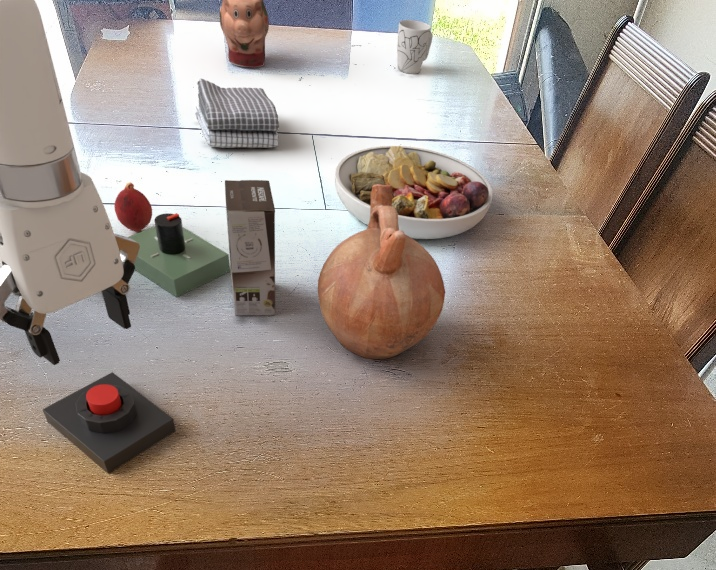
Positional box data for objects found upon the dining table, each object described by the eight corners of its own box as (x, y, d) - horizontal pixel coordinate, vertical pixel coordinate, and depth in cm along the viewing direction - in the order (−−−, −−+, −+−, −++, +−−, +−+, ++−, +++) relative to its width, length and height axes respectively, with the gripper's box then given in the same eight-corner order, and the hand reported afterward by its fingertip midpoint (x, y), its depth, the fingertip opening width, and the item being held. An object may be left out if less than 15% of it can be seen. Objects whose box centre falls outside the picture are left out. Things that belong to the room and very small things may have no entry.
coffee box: (276, 316, 92) (275, 211, 79) (234, 316, 91) (226, 210, 78) (272, 282, 98) (270, 178, 85) (231, 282, 96) (223, 177, 84)
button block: (47, 422, 74) (37, 398, 71) (116, 384, 80) (109, 360, 77) (108, 474, 71) (100, 450, 67) (176, 431, 76) (171, 407, 73)
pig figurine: (220, 46, 163) (216, -21, 152) (266, 48, 165) (264, -18, 154) (224, 73, 151) (219, 2, 140) (273, 75, 153) (272, 6, 142)
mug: (415, 61, 171) (422, 17, 163) (437, 71, 167) (445, 26, 160) (387, 67, 165) (392, 21, 158) (408, 77, 162) (415, 31, 154)
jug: (443, 376, 87) (478, 245, 71) (318, 374, 85) (326, 237, 69) (424, 302, 98) (451, 174, 83) (313, 297, 96) (319, 165, 80)
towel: (209, 153, 123) (205, 110, 117) (195, 116, 133) (191, 75, 127) (281, 151, 127) (281, 109, 121) (263, 115, 137) (262, 75, 131)
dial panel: (119, 259, 97) (114, 241, 95) (173, 236, 103) (170, 218, 100) (176, 297, 93) (173, 278, 90) (230, 271, 98) (228, 253, 96)
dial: (170, 257, 94) (166, 227, 90) (153, 247, 95) (148, 217, 91) (190, 248, 96) (186, 218, 92) (173, 238, 97) (169, 208, 93)
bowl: (308, 218, 111) (309, 173, 105) (366, 158, 129) (370, 117, 123) (462, 264, 107) (473, 221, 100) (500, 196, 124) (512, 155, 118)
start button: (83, 405, 72) (79, 394, 71) (109, 391, 74) (105, 379, 72) (102, 420, 71) (98, 409, 69) (127, 405, 73) (124, 394, 71)
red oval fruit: (143, 244, 101) (134, 195, 94) (113, 235, 101) (101, 186, 95) (161, 228, 104) (153, 180, 98) (131, 220, 105) (122, 171, 99)
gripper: (-45, 220, 45) (32, 395, 59) (145, 158, 54) (173, 322, 68) (-96, 183, 48) (-11, 359, 62) (93, 129, 57) (130, 293, 71)
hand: (85, 339), depth 65 cm, fingers open, 8 cm apart
